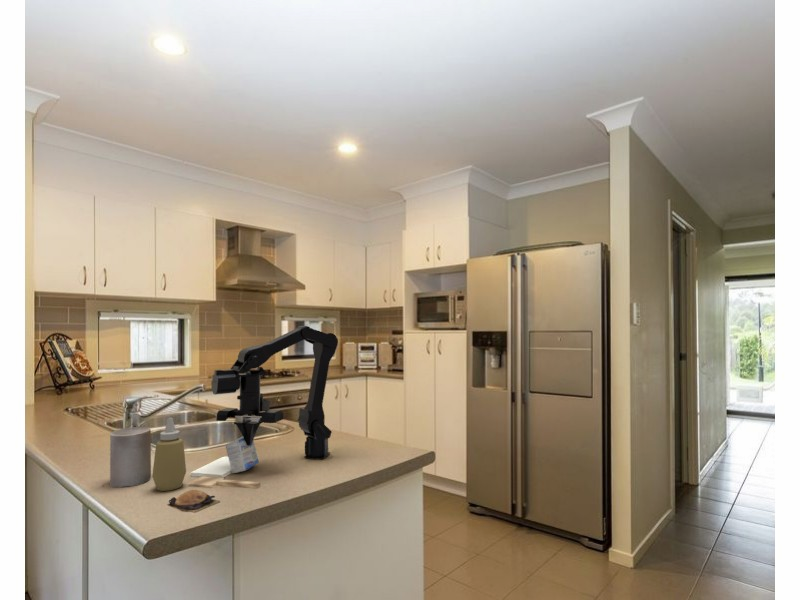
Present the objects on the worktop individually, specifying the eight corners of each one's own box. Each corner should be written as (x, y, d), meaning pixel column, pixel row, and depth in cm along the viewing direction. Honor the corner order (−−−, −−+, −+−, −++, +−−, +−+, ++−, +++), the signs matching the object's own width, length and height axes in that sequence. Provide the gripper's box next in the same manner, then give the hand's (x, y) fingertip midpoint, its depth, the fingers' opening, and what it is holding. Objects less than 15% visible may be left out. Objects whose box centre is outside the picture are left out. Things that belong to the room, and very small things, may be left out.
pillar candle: (137, 473, 135) (137, 420, 135) (158, 478, 130) (158, 424, 130) (102, 484, 126) (102, 428, 127) (122, 490, 122) (122, 431, 122)
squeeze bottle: (163, 495, 118) (164, 422, 118) (145, 489, 122) (146, 419, 123) (192, 485, 124) (193, 416, 125) (174, 480, 129) (175, 413, 129)
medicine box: (245, 470, 133) (238, 440, 133) (231, 474, 134) (224, 444, 134) (259, 462, 140) (252, 433, 141) (246, 465, 141) (239, 437, 142)
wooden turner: (264, 483, 126) (264, 479, 126) (252, 491, 120) (252, 487, 120) (202, 478, 130) (202, 474, 130) (187, 486, 124) (187, 482, 124)
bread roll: (222, 504, 113) (223, 488, 113) (192, 516, 106) (192, 500, 106) (193, 495, 119) (194, 481, 119) (162, 507, 111) (163, 491, 111)
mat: (252, 461, 145) (252, 458, 145) (221, 478, 130) (222, 474, 130) (224, 459, 148) (224, 456, 148) (190, 476, 132) (190, 472, 132)
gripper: (291, 388, 143) (291, 440, 143) (236, 386, 147) (236, 437, 147) (274, 393, 133) (273, 449, 132) (215, 391, 137) (214, 446, 136)
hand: (249, 445), depth 137 cm, fingers closed
